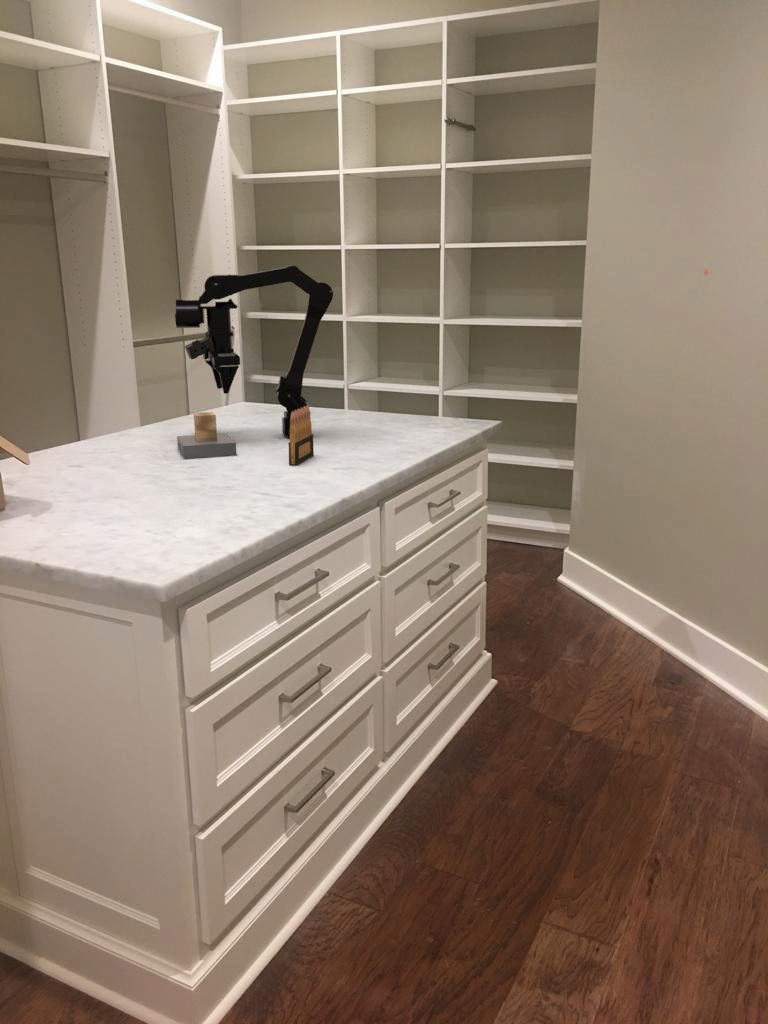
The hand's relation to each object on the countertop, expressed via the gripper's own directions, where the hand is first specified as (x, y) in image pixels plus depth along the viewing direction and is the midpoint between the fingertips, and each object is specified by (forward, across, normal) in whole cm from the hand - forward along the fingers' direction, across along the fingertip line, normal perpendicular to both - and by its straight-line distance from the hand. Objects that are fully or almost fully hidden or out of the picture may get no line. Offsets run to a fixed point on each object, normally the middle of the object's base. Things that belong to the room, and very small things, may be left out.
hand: (222, 390), depth 212 cm
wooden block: (+9, +16, -7) cm, 19 cm away
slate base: (+12, +16, -7) cm, 21 cm away
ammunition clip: (+12, +32, +12) cm, 36 cm away
